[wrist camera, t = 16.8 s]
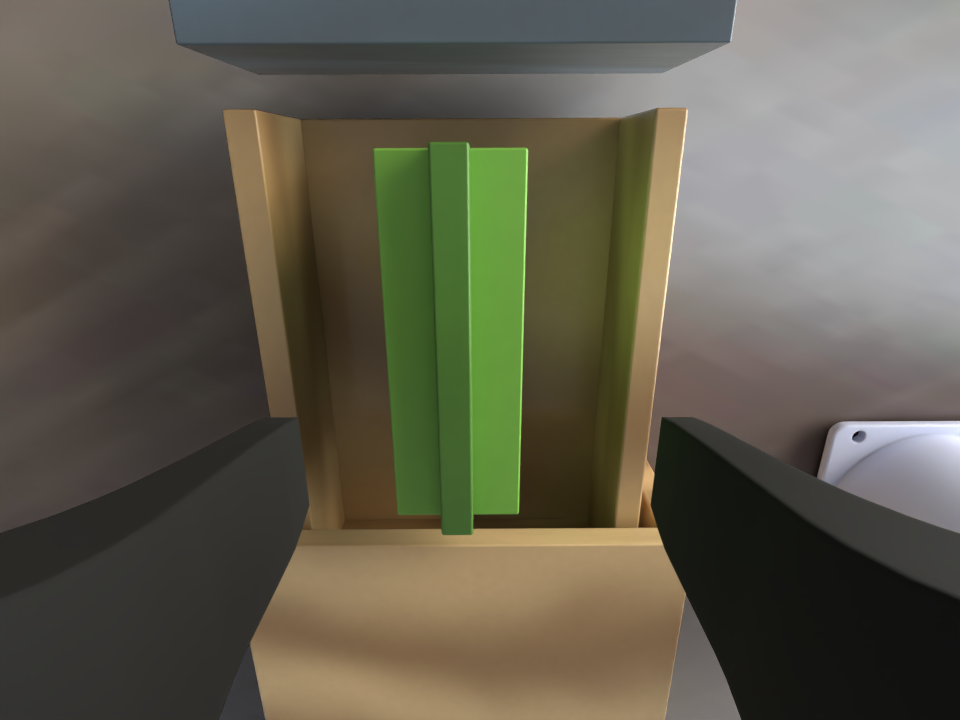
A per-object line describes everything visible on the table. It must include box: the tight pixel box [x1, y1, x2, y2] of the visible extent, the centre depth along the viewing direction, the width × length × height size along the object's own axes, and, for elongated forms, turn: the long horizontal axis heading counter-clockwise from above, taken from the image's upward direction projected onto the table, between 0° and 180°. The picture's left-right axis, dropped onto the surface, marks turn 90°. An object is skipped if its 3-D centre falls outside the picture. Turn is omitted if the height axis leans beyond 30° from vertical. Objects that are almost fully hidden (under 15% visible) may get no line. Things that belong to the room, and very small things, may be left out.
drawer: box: [169, 0, 737, 530], centre depth 16 cm, size 22×12×5 cm, turn 0°
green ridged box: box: [373, 142, 528, 535], centre depth 15 cm, size 3×9×6 cm, turn 0°
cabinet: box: [250, 460, 686, 720], centre depth 22 cm, size 19×14×7 cm
